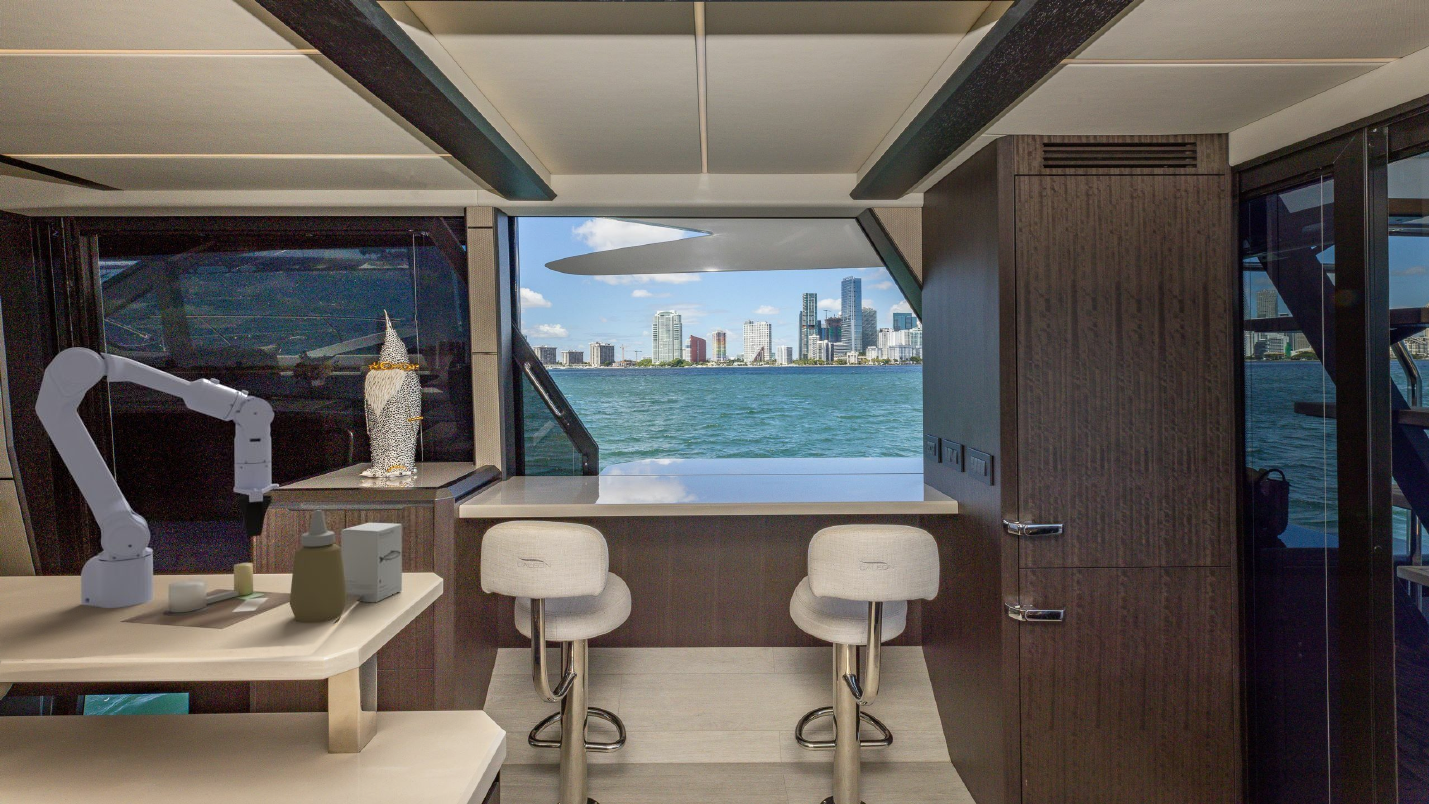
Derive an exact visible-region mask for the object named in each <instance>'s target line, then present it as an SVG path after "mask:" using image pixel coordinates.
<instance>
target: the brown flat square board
mask: <svg viewBox="0 0 1429 804" xmlns="http://www.w3.org/2000/svg"><path fill="white" fill-rule="evenodd" d="M233 590H234V589H224V588H222V589H220V588H218V589H217V588H216V589H214V590H211V591H207V597H209V596H213V595H217V594H221V593H225V592H229V591H233ZM290 594H291V592H290V593H287V592H275V591H273V592H272V591H271V592H270V591H256V590H253V593H251V594H248V595H242V596H235V597H231V598H227V599H223V600H220V601H216V602H212V603H208V604H207V606H205V607H204V608H201V609H198V610H194V611H188V612H170V611H169V604H168V605H165V606H162V607H159V608H156V609H154V610H151V611H147V612H145V613H141V614H139V615H136V616H132V617H129V618H126V619H123V620H120V621H119V622H120V623H131V624H133V623H134V624H135V623H136V624H149V625H150V624H151V625H161V626H175V627H177V626H178V627H190V628H202V629H203V628H205V629H207V628H208V629H218V630H220V629H221V630H222V629H225V628H228V627H230V626H233V625H235V624H238V623H239V622H243V621H246V620H248V619H250V618H253V617H255V616H259V615H260V614H263V613H266V612H268V611H270V610H272V609H275V608H278V607H280V606H282V605H285V604H288V603H290Z"/></svg>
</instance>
